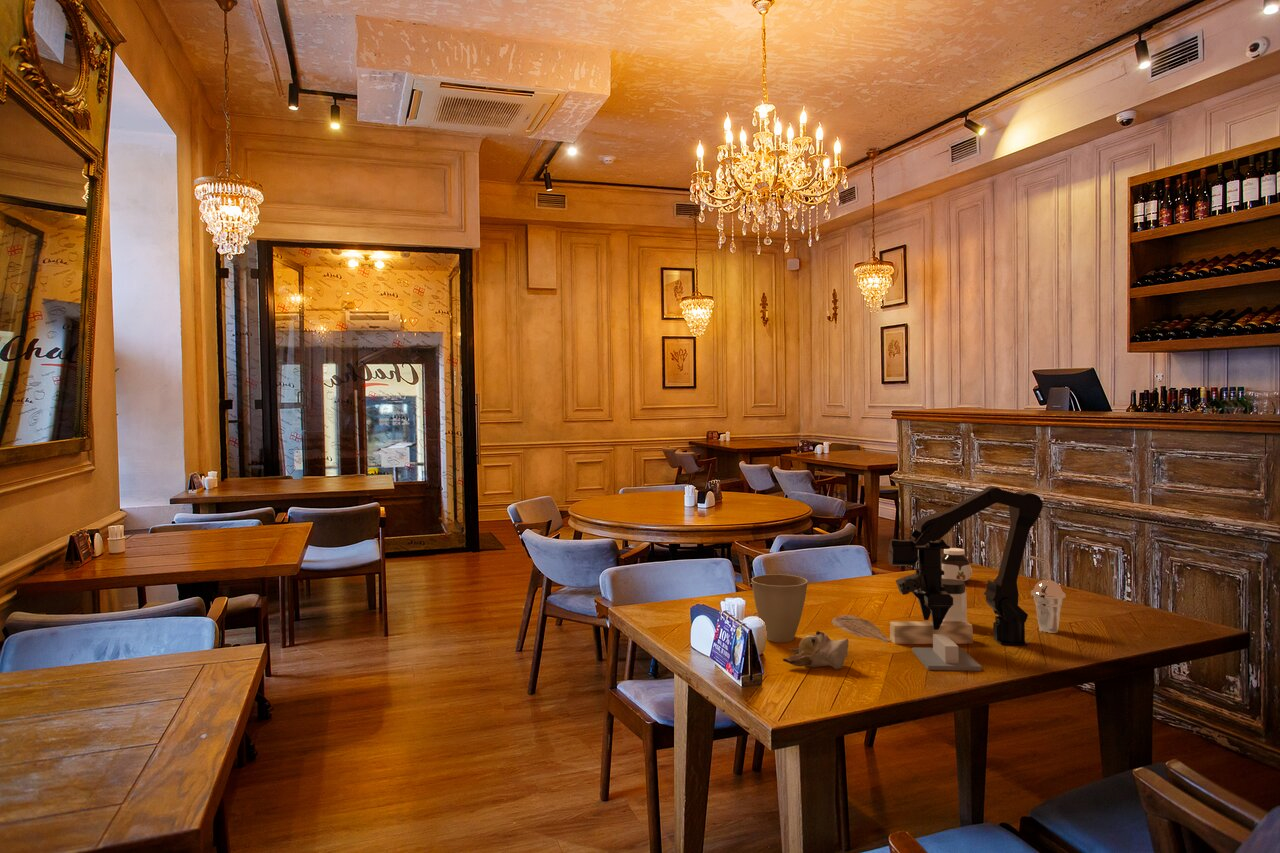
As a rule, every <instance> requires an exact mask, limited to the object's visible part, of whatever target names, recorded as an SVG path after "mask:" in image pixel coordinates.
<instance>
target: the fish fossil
mask: <svg viewBox="0 0 1280 853" xmlns="http://www.w3.org/2000/svg"><path fill="white" fill-rule="evenodd" d="M831 625H833V626H835V627H837V628H839V629H840V630H843V631H845V632H847V633H849V634H851V635H852V636H853V635H854V636H856V637H859V638H864V637H865V638H871V639H876V640H880V641H881V642H883V643H891V642H892V641H891V640H890V637H888V636H887V635H885V634H884V633H883V632H882V630H880V628H878V626H876V625H875V624H874V623H873V622H871V621H870V620H867V619H864V618H862V617H859V616H856V615H851V614H843V615H839V616H836V617H833V619H832V620H831Z"/></svg>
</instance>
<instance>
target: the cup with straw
mask: <svg viewBox="0 0 1280 853" xmlns="http://www.w3.org/2000/svg"><path fill="white" fill-rule="evenodd" d="M1028 558H1029V559H1032V560H1036V561H1040V562H1043V563H1045V564H1046V579H1043V580H1040V581H1038V582H1037V583H1036V584H1035V585H1034V587H1033V589H1031V590H1030V595H1031V596H1033V600H1034V604H1035V610H1036V611H1035V612H1036V618H1037V624H1038V626H1039V628H1038V631H1040V632H1042V631H1043V633H1046V632H1048V634H1056V633H1059V630H1058V629H1059V625H1060V616H1061V609H1062V604H1063V599H1065V598H1066V597H1067V596H1066V593H1065V592H1064V591H1063V589H1062V587H1061V586H1060V585H1059V583H1058V582H1055V581H1054V580H1051V579H1050V578H1051V576H1050V575H1051V573H1050V572H1051V570H1050V569H1051V565H1050V562H1049V561H1048V560H1047V559H1044V558H1041V557H1036V556H1034V555H1030V554H1029V555H1028Z"/></svg>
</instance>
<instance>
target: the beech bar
mask: <svg viewBox="0 0 1280 853" xmlns="http://www.w3.org/2000/svg"><path fill="white" fill-rule="evenodd" d="M933 634H946V635H947V636H948V637H949V638H950V639H951V640H952V641H953V642H954V643H955V644H956V645H957V644H973V643H974V641H973V640H974V639H973V638H974V636H973V634H974V633H973V624H971V623H970V622H968V620H967V621H942V624H941V626H940V628H939V629H938V630H934V627H933V622H932V620H930V621H929V620H925V621H914V620H913V621H904V620H903V621H889V639H890V640H891V642H892V643H893V644H895V645H901V644H902V645H904V644H905V645H912V644H913V645H914V644H915V645H916V644H917V645H920V644H922V645H926V644H927V645H929V644H931V645H933Z"/></svg>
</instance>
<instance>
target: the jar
mask: <svg viewBox="0 0 1280 853" xmlns="http://www.w3.org/2000/svg"><path fill="white" fill-rule="evenodd" d="M942 586H944V591H946V592H947V593H948V594H950V595H951V596H952V597H953V605H952V606H951V608H949V610H948V612H947V614H946V616H945V618H944V619H943V621H967V622H968V620H967V619H968V616H967V614H968V613H967V612H968V611H967V610H968V609H967V608H968V607H967V591H966V583H964V582H963V581H960V580H955V579H942Z"/></svg>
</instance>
